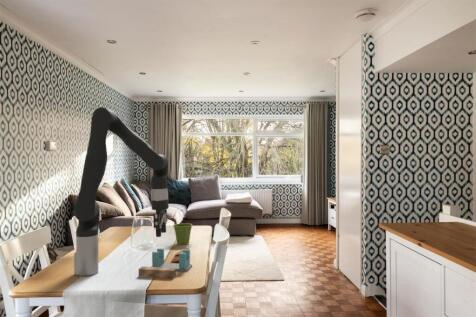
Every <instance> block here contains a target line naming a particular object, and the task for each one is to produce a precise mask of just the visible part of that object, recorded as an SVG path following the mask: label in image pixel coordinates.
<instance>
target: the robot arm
mask: <svg viewBox="0 0 476 317" xmlns="http://www.w3.org/2000/svg"><path fill="white" fill-rule="evenodd" d="M90 121H91V122H90V133H89V139H88V144H87V149H86V155H85V158H84V163H83V169H82V171H83V172H82V175H81V182H80V188H79V192H78V195H77V198H76V202H75V205H74V208H73V214H74V217H75V219H76V220H77V221H78V224H77V228H76V231H75V239H76V240H75V241H76V243H75V249H76V251H75V252H74V254H73V257H74V258H73V260H74V261H73V263H74V264H73V266H74V267H73V270H74V271H73V272H74V273H73V274H74V275H77V276H80V277H88V276H93V275H96V274H98V273H99V229H100V215H101V214H100V212H101V211H100V205H99V203H98V202H97V200H96V199H97V193H98V190H99V187H100V185H101V183H102V181H103V179H104V175H105V173H106V168H107V164H108V151H107V150H108V149H107V135H108V131H109V132H111V133H112V134H114V135H115V136H117V137H118V138H119V139H120V140H121V141H122V142H123V144H125V145H126V147H128V149H129V150H131V151H132V152H133V153H134V154H135V155H137V156H138V157H139V158H140V159H141V160H142V161H143V162H144V163H145V164H146V165H147V166H148V167H149V168H150V169H152V170H153V172H152V177H151V179H150V190H151V191H150V203H151V210H152V211H155V213H153V219H152V220H153V228H154V229H155V237H156V238H160V237H161V238H162V234H163V233H164V234H165V233H167V223H168V209H169V207H170V206H169V205H170V204H169V190H168V178H167V177H168V171H169V161H168V158H167V157H166V155H164V154H158V153H157V151H155V150H154V149H153V148H152V146H151V144H150V143H148V142H147V141H145V140H144V139H143V138H142V137H141V136H139V135H138V134H137V133H136V132H134V131H133V130H132V129H130V128H129V127H128V126H127V125H126V124H125V122H123V121H122V119H121V118H120V117H119V116H118V115H117V113H115V111H114V110H112V109H109V108H107V107H104V106H101V107H98V108H96V109H95V110H94V111H93V112H92V115H91V120H90Z"/></svg>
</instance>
